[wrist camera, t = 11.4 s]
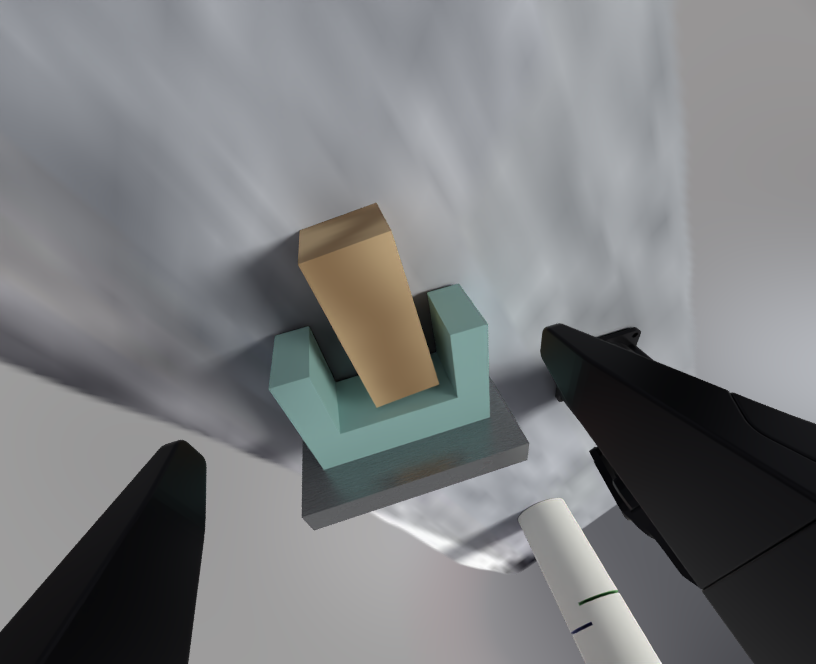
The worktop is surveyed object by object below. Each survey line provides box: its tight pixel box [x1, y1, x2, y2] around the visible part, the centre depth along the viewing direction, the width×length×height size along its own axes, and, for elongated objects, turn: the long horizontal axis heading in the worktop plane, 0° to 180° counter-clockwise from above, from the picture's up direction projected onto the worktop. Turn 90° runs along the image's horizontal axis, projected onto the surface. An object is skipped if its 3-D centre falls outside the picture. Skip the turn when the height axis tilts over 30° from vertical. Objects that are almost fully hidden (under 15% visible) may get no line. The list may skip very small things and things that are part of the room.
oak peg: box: [298, 203, 439, 408], centre depth 18 cm, size 4×10×4 cm, turn 15°
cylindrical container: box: [518, 498, 662, 664], centre depth 38 cm, size 7×7×25 cm
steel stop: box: [302, 377, 529, 530], centre depth 23 cm, size 14×4×7 cm, turn 99°
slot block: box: [269, 284, 490, 470], centre depth 20 cm, size 11×8×4 cm
